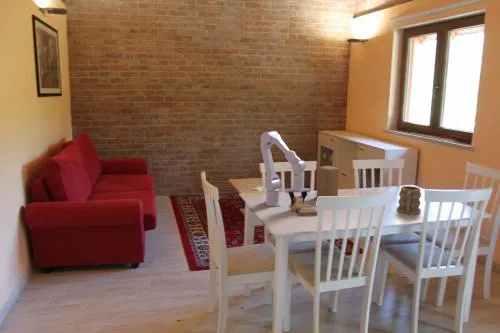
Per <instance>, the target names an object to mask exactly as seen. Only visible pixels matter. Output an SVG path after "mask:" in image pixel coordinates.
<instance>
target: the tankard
mask: <svg viewBox="0 0 500 333" xmlns="http://www.w3.org/2000/svg"><path fill="white" fill-rule="evenodd" d="M398 193H399V199H398V206H397V207H396V211H397V212H399V213H401V214H405V215H410V214H411V215H413V216H414V215H420V213H421V210H422V209H421V208H419V207H420V205H421V200H420V198H421V197H422V192H421V188H419V187H416V186H411V185H404V186H401V187H400V191H399V192H398Z"/></svg>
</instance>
